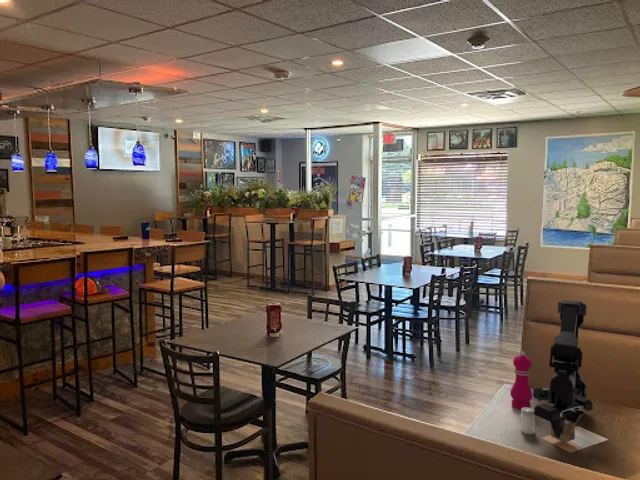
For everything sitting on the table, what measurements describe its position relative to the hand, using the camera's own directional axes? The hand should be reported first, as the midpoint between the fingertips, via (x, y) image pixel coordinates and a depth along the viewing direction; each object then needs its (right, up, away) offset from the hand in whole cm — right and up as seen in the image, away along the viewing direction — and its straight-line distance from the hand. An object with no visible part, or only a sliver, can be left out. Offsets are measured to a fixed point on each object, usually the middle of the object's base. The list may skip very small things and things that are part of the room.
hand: (562, 435), depth 147 cm
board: (+5, -3, +3) cm, 7 cm away
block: (0, -1, 0) cm, 1 cm away
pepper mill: (-1, -1, +29) cm, 29 cm away
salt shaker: (-7, -3, +8) cm, 11 cm away
